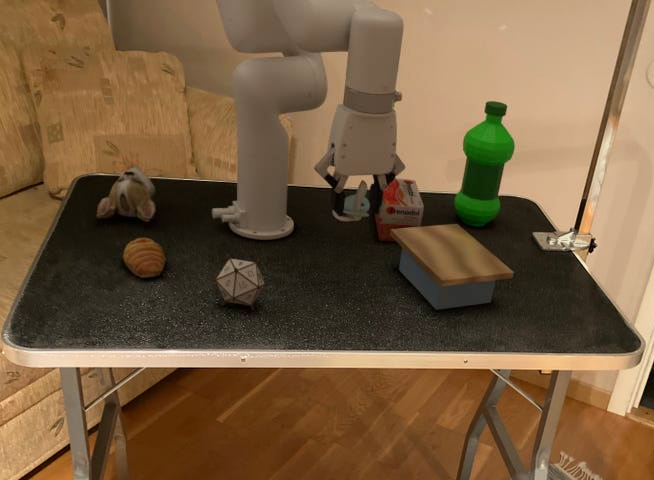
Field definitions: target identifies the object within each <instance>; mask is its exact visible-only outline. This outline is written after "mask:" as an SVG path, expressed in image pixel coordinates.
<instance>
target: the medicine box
mask: <svg viewBox="0 0 654 480" xmlns="http://www.w3.org/2000/svg"><path fill="white" fill-rule="evenodd" d="M420 194H421V193H420V191H419V188H418V184H417V182H416V180H415V179H406V178H397V177H395V179H394V180H393V181H392V182H391V183H390V184H389V185H388V186H387V189H386V190H385V191H384V192H383V200H382V206H381V207H380V210H379V214H375V213H374V217H375V218H374V219H375V223H376V229H377V234H378V235H377V236H378V239H379V241H381V242H383V241H384V242H390V243H391V242H392V243H395V242H396V241H395V240H394V239H393V238H392V237H391V236H390V231H391V229H399V228H411V227H422V222H423V218H424V217H423V216H424V210H425V206H424V203H423V200H422V197H421V195H420Z"/></svg>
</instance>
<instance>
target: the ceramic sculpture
mask: <svg viewBox="0 0 654 480" xmlns="http://www.w3.org/2000/svg"><path fill="white" fill-rule="evenodd" d="M155 193H156V187H155V185H154V184H153V182H152V181H151V178H150V177H149V176H148V175H147V173H146V172H145V171H143V170H142V169H141V168H140V166H139V165H138V164H135V165H134V166H133V167H132V168H129V169H128V170H126V171H124V172H123V173H121V174H120V175H119V177H118V179H117V180H116V181H115V182H114V183H113V185H112V187H111V190H110V191H109V194H108V196H106V197H103V198H101V199H100V202H99V203H98V204H97V209H96V215H95V217H96V219H102V220H104V219H105V220H106V219H112V218H113V217H114V216H115V215H116V214H118V215H119V216H121V217H125V218H138V219H139V220H141V221H143V222H146V223H149V222H151V221H152V220H154V218H155V215H156V212H157V208H156V203H155V201H154V200H153V198H154V197H155Z"/></svg>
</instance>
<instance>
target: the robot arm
mask: <svg viewBox="0 0 654 480" xmlns="http://www.w3.org/2000/svg"><path fill="white" fill-rule="evenodd" d="M215 1H216V5H217V9H218V12H219V16H220V19H221V22H222V27H223V30H224V33H225V36H226V40H227V41H228V43H229V45H230V46H231V48H232V49H233V50H235V51H236V52H238V53H242V54H269V53H270V54H271V53H273V54H274V53H281V54H282V56H267V57H265V56H264V57H254V58H250V59H247V60H244V61H242V62H241V63H239V64H238V65H237V66H236V67H235V69H234V70H233V72H232V76H231V90H232V91H231V92H232V96H233V100H234V107H235V116H236V128H237V129H236V135H237V137H236V139H237V142H236V147H237V149H236V151H237V154H236V155H237V157H236V159H237V161H236V164H237V166H236V168H237V169H236V170H237V171H236V200H233V201H232V205H228V206H227V207H223V208H222V207H221V208H220V207H216V208H215V207H214V208H212V209H211V216H212V219H221V221H222V223H228V227H229V229H230V230H231V231H232V232H233V233H235V234H236V235H238V236H241V237H244V238H248V239H252V240H259V241H268V240H276V239H281V238H282V239H283V238H285V237H286V236H287V237H288V236H289V235H290V234H292V232H293V231H294V228H295V225H294V220H293V219H292V217H291V216H288V214H287V208H288V188H289V187H288V184H289V163H290V137H289V133H288V131H287V130H286V128H285V126H284V125H283V123H282V122H281V119H280V115H285V114H290V113H299V112H300V113H301V112H310V111H313V110H314V111H315V110H317V109H319V108H320V107H322V105H324V103H325V101H326V99H327V97H328V92H329V91H328V89H329V87H328V77H327V71H326V68H325V64H324V60H323V56H322V53H323V54H324V53H340V52H342V53H347V60H346V69H345V80H344V88H343V89H344V90H343V100H342V103H339V104H337V106H336V109H335V112H334V115H333V118H332V122H331V127H330V130H329V131H330V133H329V136H328V143H327V149H326V153H325V154H324V155H323V156H322V157H321V158H320V160H319V161H317V163H316V164H315V165H314V166H313V169H314V171H315V172H316V173H317V174H318V175H319V176H320V177H321V178H322V179H323V180H324V181H325V182H326V183H327V184H328V185H329V187H331V195H330V208H331V209H332V211H333V210H334V211H335V212H336V213H337V215H338V216H344V212H343V211H344V203H345V198H346V192H345V191H344V188H345V186H346V184H347V181H348V179H349V177H354V176H355V177H356V176H372V180H373V183H371V184H370V186H369V193H368V201H369V203H370V207H369V210H371V212H372V213H373V214H374V215H375V214H379V210H380V207H381V206H382V200H383V192H384V191H385V190H386V189H387V186H388V185H389V184H390V183H391V182H392V181H393V180H394V179H395V178H397V176H399V175H400V174H401V173H402V172H404V170H406V165H405V163H404V162H403V161H402V159H401V158H400V156H399V155H398V154H397V152H396V151H397V142H398V141H397V139H398V126H397V124H398V123H397V112H396V110H395V103H397V102H401V101H402V100H403V95H402V92H401V91H397V89H396V88H397V80H398V72H399V65H400V59H401V51H402V43H403V37H404V28H405V25H404V20H403V18H402V16H401V15H400V14H398V13H397V12H394V11H392V10H388V9H385V8H381V7H380V6H379V5H377V4H376V3H375V2H374V1H372V0H215ZM329 167H334V170H333V173H332V174H331V173H330V172H329V171H328V168H329Z"/></svg>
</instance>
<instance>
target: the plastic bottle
mask: <svg viewBox="0 0 654 480" xmlns="http://www.w3.org/2000/svg"><path fill="white" fill-rule="evenodd" d="M507 110H508V105H507V104H506V103H503V102H501V101H495V100H490V101H489V100H488V101H486V102H485V106H484V114H486V115H485V120H483V121H481V122H480V123H478V124H476V125H475V126H473V127H472V128H470V129H469V130H467V131H466V133H465V135H464V136H463V141H462V150H463V153H464V155H465V156H466V159H465V165H464V170H463V177H462V182H461V188H460V190H459V191H458V192H457V193H456V195H455V197H454V202H453V204H454V209H455V211H456V214H457V216H458V217H459V218H460V219H461V221H462V223H464V224H466V225H469V226H473V227H484V226H485V225H486V224H488V223H489V222H491V221H492V220H494V219H495V218H496V217H497V216H498V214H499V213H500V211H501V201H500V198H499V194H500V193H499V192H500V190H501V189H500V188H501V183H502V179H503V175H504V174H503V173H504V169H505V164H506V163H508V162H509V161H510V160H512V158H513V155H514V152H515V148H516V145H515V140H514V138H513V137H512V134H510V132H509V131H508V129H507V128H506V126H505V125H504V124H503V123H502V122H503V117H505V116H506V115H507Z"/></svg>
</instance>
